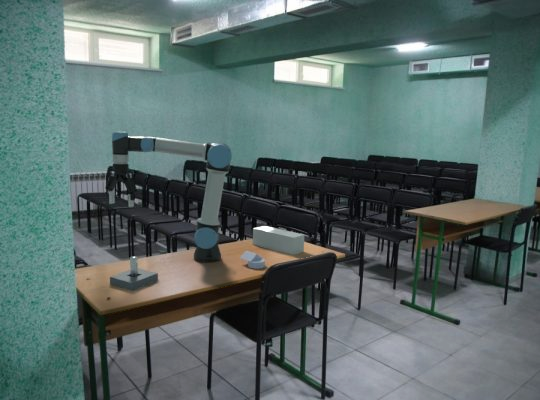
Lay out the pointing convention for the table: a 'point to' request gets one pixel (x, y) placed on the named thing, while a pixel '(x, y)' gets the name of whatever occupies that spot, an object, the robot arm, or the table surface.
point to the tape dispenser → (253, 260)
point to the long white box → (278, 240)
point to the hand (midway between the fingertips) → (121, 205)
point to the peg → (133, 266)
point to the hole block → (133, 279)
